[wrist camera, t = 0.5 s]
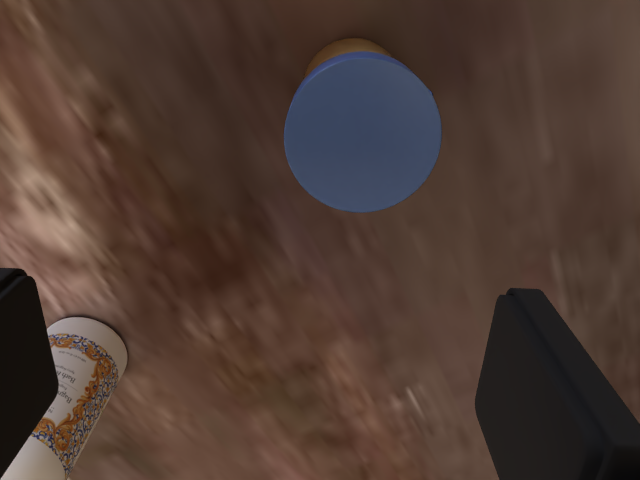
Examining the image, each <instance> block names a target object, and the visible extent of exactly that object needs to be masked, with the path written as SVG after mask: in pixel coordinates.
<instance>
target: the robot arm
mask: <svg viewBox="0 0 640 480" xmlns="http://www.w3.org/2000/svg"><path fill="white" fill-rule="evenodd" d="M58 388H59V382H58V376H57V372H56V368H55V364H54V359H53V355H52V351H51V346H50V342H49V338H48V333H47V329H46V325H45V321H44V316H43V312H42V308H41V303H40V299H39V295H38V291H37V286H36V283H35V280H34V279H33V277H31V276H27V274H26V272H25V271H24V270H22V269H16V268H0V479H1V478H2V476H3V475H4V473H5V472H6V470H7V469H8V467H9V466H10V465H11V463H12V462H13V460H14V459H15V457H16V456H17V454H18V453H19V451H20V450H21V448H22V447H23V445H24V444H25V442H26V441H27V440H28V438H29V437H30V435H31V434H32V432H33V431H34V429H35V428H36V426H37V425H38V423H39V422H40V420H41V419H42V418H43V416H44V415H45V413H46V412H47V410H48V409H49V407H50V406H51V404H52V403H53V401H54V400H55V398H56V396H57V393H58ZM475 409H476V415H477V418H478V421H479V424H480V426H481V429H482V432H483V435H484V438H485V440H486V443H487V446H488V449H489V452H490V454H491V457H492V460H493V463H494V466H495V468H496V471H497V474H498V477H499V479H500V480H640V424H639V423H638V421H637V420H636V419H635V417H634V416H633V414H632V413H631V412H630V410H629V409H628V408H627V406H626V405H625V404H624V402H623V401H622V399H621V398H620V397H619V395H618V394H617V393H616V391H615V390H614V389H613V387H612V386H611V384H610V383H609V382H608V380H607V379H606V378H605V376H604V375H603V374H602V372H601V371H600V369H599V368H598V367H597V365H596V364H595V363H594V361H593V360H592V359H591V357H590V356H589V354H588V353H587V352H586V350H585V349H584V348H583V346H582V345H581V344H580V342H579V341H578V339H577V338H576V337H575V335H574V334H573V333H572V331H571V330H570V329H569V327H568V326H567V324H566V323H565V322H564V320H563V319H562V318H561V316H560V315H559V314H558V312H557V311H556V309H555V308H554V307H553V305H552V304H551V303H550V301H549V300H548V299H547V297H546V296H545V294H544V293H543V292H542V291H541V290H539V289H521V288H510V289H509V290H508V291H507V293H506V295H500V296H499V297H498V298H497V302H496V306H495V311H494V315H493V320H492V324H491V329H490V333H489V338H488V342H487V347H486V352H485V356H484V361H483V365H482V370H481V374H480V379H479V383H478V388H477V393H476V398H475Z"/></svg>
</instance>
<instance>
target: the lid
mask: <svg viewBox="0 0 640 480" xmlns="http://www.w3.org/2000/svg"><path fill="white" fill-rule="evenodd" d="M441 139H442V125H441V118H440V114H439V111H438V107H437V105H436V102H435V100H434V98H433V93H432V92H431V91H430V90H429V89H428V88H427V87H426V86H425V85H424V83H423V82H422V81H421V80H420V79H419V78H418V77H417V76H416V75H415V74H414V73H413V72H412V71H411V70H410V69H409V68H408V67H406V66H405V65H404V64H402V63H401V62H399V61H398V60H396V59H393V58H391V57H389V56H386V55H383V54H380V53H375V52H365V51H358V52H349V53H345V54H341V55H338V56H336V57H333V58H331V59H329V60H327V61H325V62H323V63H322V64H320V65H319V66H318V67H316V68H315V69H314V70H313V71H312V72H311V73H310V74H309V75H308V76H307V77H306V78H305V79H304V80H303V82H302V83H301V84H300V86H299V87H298V89H297V91H296V93H295V95H294V97H293V100H292V102H291V105H290V108H289V111H288V114H287V118H286V122H285V129H284V146H285V153H286V157H287V160H288V163H289V166H290V168H291V170H292V172H293V174H294V176H295V177H296V179H297V181H298V182H299V183H300V184H301V186H302V187H303V188H304V189H305V190H306V191H307V192H308V193H309V194H310V195H312V196H313V197H314V198H316V199H317V200H318V201H320V202H322V203H324V204H325V205H328V206H330V207H333V208H335V209H339V210H342V211H348V212H359V213H364V212H374V211H378V210H383V209H386V208H388V207H391V206H393V205H395V204H398V203H400V202H401V201H403V200H404V199H406V198H408V197H409V196H410V195H411V194H413V193H414V192H415V191H416V190H417V189H418V188H419V187H420V186H421V185H422V184H423V183H424V181H425V180H426V179H427V177H428V176H429V174H430V173H431V171H432V169H433V167H434V165H435V163H436V160H437V158H438V155H439V151H440V147H441Z"/></svg>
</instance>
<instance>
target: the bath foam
mask: <svg viewBox="0 0 640 480" xmlns="http://www.w3.org/2000/svg"><path fill="white" fill-rule="evenodd" d="M47 333H48V338H49V342H50V346H51V351H52V355H53V359H54V364H55V368H56V372H57V376H58V382H59V388H58V393H57V396H56V398H55V400H54V401H53V403H52V404H51V406H50V407H49V409H48V410H47V412H46V413H45V415H44V416H43V418H42V419H41V420H40V422H39V423H38V425H37V426H36V428H35V429H34V431H33V432H32V434H31V435H30V437H29V438H28V440H27V441H26V442H25V444H24V445H23V447H22V448H21V450H20V451H19V453H18V454H17V456H16V457H15V459H14V460H13V462H12V463H11V465H10V466H9V467H8V469H7V470H6V472H5V473H4V475H3V476H2V478H1V479H0V480H67V478H68V476H69V474H70V473H71V471H72V469H73V467H74V465H75V463H76V461H77V459H78V458H79V456H80V454H81V452H82V450H83V448H84V446H85V444H86V443H87V441H88V439H89V437H90V435H91V433H92V431H93V429H94V428H95V426H96V424H97V422H98V420H99V418H100V416H101V414H102V413H103V411H104V409H105V407H106V405H107V403H108V401H109V399H110V398H111V396H112V394H113V392H114V390H115V388H116V386H117V384H118V382H119V380H120V378H121V376H122V374H123V373H124V371H125V368H126V365H127V351H126V347H125V345H124V343H123V341H122V340H121V338H120V337H119V336H118V335H117V334H116V333H115V332H114V331H113V330H112V329H111V328H109V327H108V326H106V325H105V324H103V323H101V322H98V321H96V320H93V319H89V318H83V317H71V318H65V319H62V320H59V321H57V322H55V323H54V324H52V325H51V326H50V327H49V328H48V329H47Z"/></svg>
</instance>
